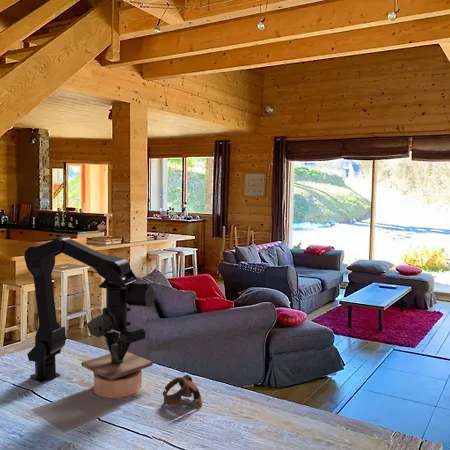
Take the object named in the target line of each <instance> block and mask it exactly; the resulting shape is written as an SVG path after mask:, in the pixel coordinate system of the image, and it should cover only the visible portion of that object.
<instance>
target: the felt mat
mask: <svg viewBox="0 0 450 450" xmlns="http://www.w3.org/2000/svg"><path fill="white" fill-rule="evenodd" d="M120 409H122V408H121V407H120V406H117V405H115V404H114V403H111V402H110V401H108V400H106V399H104V397H101V396H99V395H97V394H96V393H94V392H91V391H89V390H87V389H85V390H82V391H79V392H77V393H76V392H75V393H73V394H71V395H67V396H66V397H62V398H59V399H57V400H54V401H51V402H48V403H45V404H42V405H39V406H37V407H35V408H32V409H31V411H32V412H34V413H35V414H36V415H38V416H39V417H41V418H42V419H44V420H46V421H47V422H48V423H50V424H51V425H53V426H54V427H56V428H57V429H58V430H60V431H62V432H63V433H66V432H68V431H71V430H73V429H75V428H78V427H79V426H82V425H84V424H87V423H90V422H92V421H94V420H97V419H99V418H102V417H104V416H106V415H108V414H111V413H114V412H115V411H116V412H117V411H118V410H120Z"/></svg>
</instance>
